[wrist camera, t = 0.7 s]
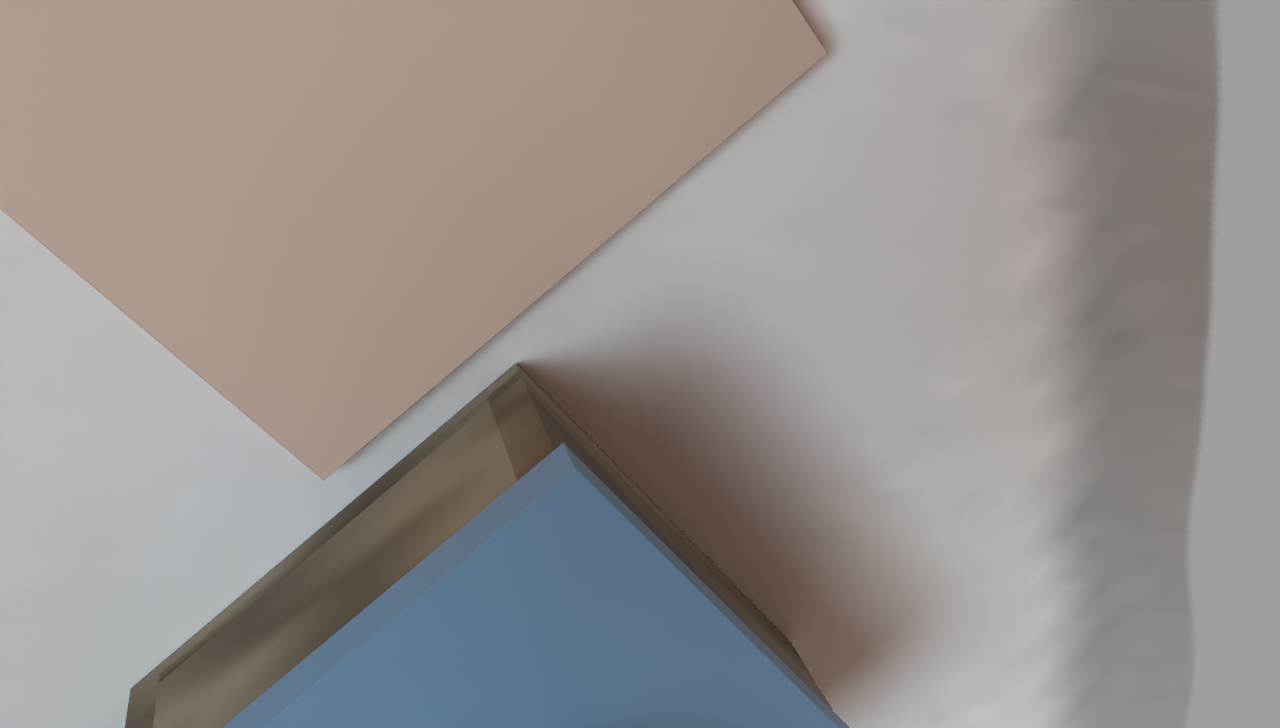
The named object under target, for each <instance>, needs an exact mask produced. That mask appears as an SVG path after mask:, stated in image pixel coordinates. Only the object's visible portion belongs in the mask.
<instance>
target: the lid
mask: <svg viewBox="0 0 1280 728" xmlns="http://www.w3.org/2000/svg"><path fill="white" fill-rule="evenodd" d="M223 728H849V727H848V726H847V725H846V724H845V723H844V722H843V721H842V720H841V719H840V718H839V717H838V716H837V715H836V714H835V713H834V712H833V711H832V710H831V709H830V708H829V707H828V706H827V705H826V704H825V703H824V702H823V701H822V700H821V699H820V698H819V697H818V696H817V695H816V694H815V693H814V692H813V691H812V690H811V689H810V688H809V687H808V686H807V685H806V684H805V683H804V682H803V681H802V680H801V679H800V678H799V677H798V676H797V675H796V674H795V673H794V672H793V671H792V670H791V669H790V668H789V667H788V666H787V665H786V664H785V663H784V662H783V661H782V660H781V659H780V658H779V657H778V656H777V655H776V654H775V653H774V652H773V651H772V650H771V649H770V648H769V647H768V646H767V645H766V644H765V643H764V642H763V641H762V640H761V639H760V638H759V637H758V636H757V635H756V634H755V633H754V632H753V631H752V630H751V629H750V628H749V627H748V626H747V625H746V624H745V623H744V622H743V621H742V620H741V619H740V618H739V617H738V616H737V615H736V614H735V613H734V612H733V611H732V610H731V609H730V608H729V607H728V606H727V605H726V604H725V603H724V602H723V601H722V600H721V599H720V598H719V597H718V596H717V595H716V594H715V593H714V592H713V591H712V590H711V589H710V588H709V587H708V586H707V585H706V584H705V583H704V582H703V581H702V580H701V579H700V578H698V577H697V576H696V575H695V574H694V573H693V572H692V571H691V570H690V569H689V568H688V567H687V566H686V565H685V564H684V563H683V562H682V561H681V560H680V559H679V558H678V557H677V556H676V555H675V554H674V553H673V552H672V551H671V550H670V549H669V548H668V547H667V546H666V545H665V544H664V543H663V542H662V541H661V540H660V539H659V538H658V537H657V536H656V535H655V534H654V533H653V532H652V531H651V530H650V529H649V528H648V527H647V526H646V525H645V524H644V523H643V522H642V521H641V520H640V519H639V518H638V517H637V516H636V515H635V514H634V513H633V512H632V511H631V510H630V509H629V508H628V507H627V506H626V505H625V504H624V503H623V502H622V501H621V500H620V499H619V498H618V497H617V496H616V495H615V494H614V493H613V492H612V491H611V490H610V489H609V488H608V487H607V486H606V485H605V484H604V483H603V482H602V481H601V480H600V479H599V478H598V477H597V476H596V475H595V474H594V473H593V472H592V471H591V470H590V469H589V468H588V467H587V466H586V465H585V464H584V463H583V462H582V461H581V460H580V459H579V458H578V457H577V456H576V455H575V454H574V453H573V452H572V451H571V450H570V449H569V448H568V447H567V446H566V445H565V444H564V443H562V444H561V445H560V446H559V447H557V448H556V449H555V450H554V451H553V452H551V453H550V454H549V455H548V456H547V457H545V458H544V459H543V460H542V461H541V462H539V463H538V464H537V465H536V466H535V467H534V468H532V469H531V470H530V471H529V472H528V473H526V474H525V475H524V476H523V477H522V478H520V479H519V480H518V481H517V482H516V483H514V484H513V485H512V486H511V487H510V488H508V489H507V490H506V491H505V492H504V493H502V494H501V495H500V496H499V497H498V498H496V499H495V500H494V501H493V502H492V503H490V504H489V505H488V506H487V507H486V508H484V509H483V510H482V511H481V512H480V513H479V514H477V515H476V516H475V517H474V518H473V519H471V520H470V521H469V522H468V523H467V524H465V525H464V526H463V527H462V528H461V529H459V530H458V531H457V532H456V533H455V534H453V535H452V536H451V537H450V538H449V539H447V540H446V541H445V542H444V543H443V544H441V545H440V546H439V547H438V548H437V549H435V550H434V551H433V552H432V553H431V554H429V555H428V556H427V557H426V558H425V559H423V560H422V561H421V562H420V563H419V564H418V565H416V566H415V567H414V568H413V569H412V570H410V571H409V572H408V573H407V574H406V575H404V576H403V577H402V578H401V579H400V580H398V581H397V582H396V583H395V584H394V585H392V586H391V587H390V588H389V589H388V590H386V591H385V592H384V593H383V594H382V595H380V596H379V597H378V598H377V599H376V600H374V601H373V602H372V603H371V604H370V605H368V606H367V607H366V608H365V609H364V610H363V611H361V612H360V613H359V614H358V615H357V616H355V617H354V618H353V619H352V620H351V621H349V622H348V623H347V624H346V625H345V626H343V627H342V628H341V629H340V630H339V631H337V632H336V633H335V634H334V635H333V636H331V637H330V638H329V639H328V640H327V641H325V642H324V643H323V644H322V645H321V646H319V647H318V648H317V649H316V650H315V651H313V652H312V653H311V654H310V655H309V656H307V657H306V658H305V659H304V660H303V661H302V662H300V663H299V664H298V665H297V666H296V667H294V668H293V669H292V670H291V671H290V672H288V673H287V674H286V675H285V676H284V677H282V678H281V679H280V680H279V681H278V682H276V683H275V684H274V685H273V686H272V687H270V688H269V689H268V690H267V691H266V692H264V693H263V694H262V695H261V696H260V697H258V698H257V699H256V700H255V701H254V702H252V703H251V704H250V705H249V706H248V707H247V708H245V709H244V710H243V711H242V712H241V713H239V714H238V715H237V716H236V717H235V718H233V719H232V720H231V721H230V722H229V723H227V724H226V725H225V726H224V727H223Z"/></svg>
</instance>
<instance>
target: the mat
mask: <svg viewBox="0 0 1280 728" xmlns="http://www.w3.org/2000/svg"><path fill="white" fill-rule="evenodd" d="M826 54H827V52H826V50H825V49H824V47H823V46H822V44H821V43H820V41H819V40H818V38H817V37H816V35H815V34H814V32H813V31H812V29H811V28H810V26H809V25H808V23H807V22H806V20H805V19H804V17H803V16H802V14H801V13H800V11H799V10H798V8H797V7H796V5H795V4H794V2H793V1H792V0H0V209H1V210H2V211H3V212H4V213H5V214H7V215H8V216H9V217H10V218H11V219H13V220H14V221H15V222H16V223H17V224H19V225H20V226H21V227H22V228H23V229H25V230H26V231H27V232H28V233H29V234H30V235H32V236H33V237H34V238H35V239H36V240H38V241H39V242H40V243H41V244H42V245H44V246H45V247H46V248H47V249H48V250H50V251H51V252H52V253H53V254H54V255H55V256H57V257H58V258H59V259H60V260H61V261H63V262H64V263H65V264H66V265H67V266H69V267H70V268H71V269H72V270H73V271H75V272H76V273H77V274H78V275H79V276H81V277H82V278H83V279H84V280H85V281H86V282H88V283H89V284H90V285H91V286H92V287H94V288H95V289H96V290H97V291H98V292H100V293H101V294H102V295H103V296H104V297H106V298H107V299H108V300H109V301H110V302H111V303H113V304H114V305H115V306H116V307H117V308H119V309H120V310H121V311H122V312H123V313H125V314H126V315H127V316H128V317H129V318H131V319H132V320H133V321H134V322H135V323H136V324H138V325H139V326H140V327H141V328H142V329H144V330H145V331H146V332H147V333H148V334H150V335H151V336H152V337H153V338H154V339H156V340H157V341H158V342H159V343H160V344H162V345H163V346H164V347H165V348H166V349H167V350H169V351H170V352H171V353H172V354H173V355H175V356H176V357H177V358H178V359H179V360H181V361H182V362H183V363H184V364H185V365H187V366H188V367H189V368H190V369H191V370H192V371H194V372H195V373H196V374H197V375H198V376H200V377H201V378H202V379H203V380H204V381H206V382H207V383H208V384H209V385H210V386H212V387H213V388H214V389H215V390H216V391H217V392H219V393H220V394H221V395H222V396H223V397H225V398H226V399H227V400H228V401H229V402H231V403H232V404H233V405H234V406H235V407H237V408H238V409H239V410H240V411H241V412H243V413H244V414H245V415H246V416H247V417H248V418H250V419H251V420H252V421H253V422H254V423H256V424H257V425H258V426H259V427H260V428H262V429H263V430H264V431H265V432H266V433H268V434H269V435H270V436H271V437H272V438H273V439H275V440H276V441H277V442H278V443H279V444H281V445H282V446H283V447H284V448H285V449H287V450H288V451H289V452H290V453H291V454H293V455H294V456H295V457H296V458H297V459H298V460H300V461H301V462H302V463H303V464H304V465H306V466H307V467H308V468H309V469H310V470H312V471H313V472H314V473H315V474H316V475H318V476H319V477H320V478H321V479H322V480H325V479H326V478H327V477H328V476H329V475H331V474H332V473H333V472H334V471H335V470H337V469H338V468H339V467H340V466H341V465H342V464H344V463H345V462H346V461H347V460H348V459H350V458H351V457H352V456H353V455H354V454H355V453H357V452H358V451H359V450H360V449H361V448H362V447H364V446H365V445H366V444H367V443H368V442H370V441H371V440H372V439H373V438H374V437H375V436H377V435H378V434H379V433H380V432H381V431H383V430H384V429H385V428H386V427H387V426H388V425H390V424H391V423H392V422H393V421H394V420H395V419H397V418H398V417H399V416H400V415H401V414H403V413H404V412H405V411H406V410H407V409H408V408H410V407H411V406H412V405H413V404H414V403H416V402H417V401H418V400H419V399H420V398H421V397H423V396H424V395H425V394H426V393H427V392H428V391H430V390H431V389H432V388H433V387H434V386H436V385H437V384H438V383H439V382H440V381H441V380H443V379H444V378H445V377H446V376H447V375H448V374H450V373H451V372H452V371H453V370H454V369H456V368H457V367H458V366H459V365H460V364H461V363H463V362H464V361H465V360H466V359H467V358H469V357H470V356H471V355H472V354H473V353H474V352H476V351H477V350H478V349H479V348H480V347H481V346H483V345H484V344H485V343H486V342H487V341H489V340H490V339H491V338H492V337H493V336H494V335H496V334H497V333H498V332H499V331H500V330H502V329H503V328H504V327H505V326H506V325H507V324H509V323H510V322H511V321H512V320H513V319H514V318H516V317H517V316H518V315H519V314H520V313H522V312H523V311H524V310H525V309H526V308H527V307H529V306H530V305H531V304H532V303H533V302H534V301H536V300H537V299H538V298H539V297H540V296H542V295H543V294H544V293H545V292H546V291H547V290H549V289H550V288H551V287H552V286H553V285H555V284H556V283H557V282H558V281H559V280H560V279H562V278H563V277H564V276H565V275H566V274H567V273H569V272H570V271H571V270H572V269H573V268H575V267H576V266H577V265H578V264H579V263H580V262H582V261H583V260H584V259H585V258H586V257H588V256H589V255H590V254H591V253H592V252H593V251H595V250H596V249H597V248H598V247H599V246H600V245H602V244H603V243H604V242H605V241H606V240H608V239H609V238H610V237H611V236H612V235H613V234H615V233H616V232H617V231H618V230H619V229H621V228H622V227H623V226H624V225H625V224H626V223H628V222H629V221H630V220H631V219H632V218H633V217H635V216H636V215H637V214H638V213H639V212H641V211H642V210H643V209H644V208H645V207H646V206H648V205H649V204H650V203H651V202H652V201H653V200H655V199H656V198H657V197H658V196H659V195H661V194H662V193H663V192H664V191H665V190H666V189H668V188H669V187H670V186H671V185H672V184H674V183H675V182H676V181H677V180H678V179H679V178H681V177H682V176H683V175H684V174H685V173H686V172H688V171H689V170H690V169H691V168H692V167H694V166H695V165H696V164H697V163H698V162H699V161H701V160H702V159H703V158H704V157H705V156H707V155H708V154H709V153H710V152H711V151H712V150H714V149H715V148H716V147H717V146H718V145H719V144H721V143H722V142H723V141H724V140H725V139H727V138H728V137H729V136H730V135H731V134H732V133H734V132H735V131H736V130H737V129H738V128H740V127H741V126H742V125H743V124H744V123H745V122H747V121H748V120H749V119H750V118H751V117H752V116H754V115H755V114H756V113H757V112H758V111H760V110H761V109H762V108H763V107H764V106H765V105H767V104H768V103H769V102H770V101H771V100H772V99H774V98H775V97H776V96H777V95H778V94H780V93H781V92H782V91H783V90H784V89H785V88H787V87H788V86H789V85H790V84H791V83H793V82H794V81H795V80H796V79H797V78H798V77H800V76H801V75H802V74H803V73H804V72H805V71H807V70H808V69H809V68H810V67H811V66H813V65H814V64H815V63H816V62H817V61H818V60H820V59H821V58H822V57H823V56H824V55H826Z"/></svg>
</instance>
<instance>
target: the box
mask: <svg viewBox="0 0 1280 728" xmlns="http://www.w3.org/2000/svg"><path fill="white" fill-rule="evenodd" d="M562 443H564V444H565V445H566V446H567V447H568V448H569V449H570V450H571V451H572V452H573V453H574V454H575V455H576V456H577V457H578V458H579V459H580V460H581V461H582V462H583V463H584V464H585V465H586V466H587V467H588V468H589V469H590V470H591V471H592V472H593V473H594V474H595V475H596V476H597V477H598V478H599V479H600V480H601V481H602V482H603V483H604V484H605V485H606V486H607V487H608V488H609V489H610V490H611V491H612V492H613V493H614V494H615V495H616V496H617V497H618V498H619V499H620V500H621V501H622V502H623V503H624V504H625V505H626V506H627V507H628V508H629V509H630V510H631V511H632V512H633V513H634V514H635V515H636V516H637V517H638V518H639V519H640V520H641V521H642V522H643V523H644V524H645V525H646V526H647V527H648V528H649V529H650V530H651V531H652V532H653V533H654V534H655V535H656V536H657V537H658V538H659V539H660V540H661V541H662V542H663V543H664V544H665V545H666V546H667V547H668V548H669V549H670V550H671V551H672V552H673V553H674V554H675V555H676V556H677V557H678V558H679V559H680V560H681V561H682V562H683V563H684V564H685V565H686V566H687V567H688V568H689V569H690V570H691V571H692V572H693V573H694V574H695V575H696V576H697V577H698V578H700V579H701V580H702V581H703V582H704V583H705V584H706V585H707V586H708V587H709V588H710V589H711V590H712V591H713V592H714V593H715V594H716V595H717V596H718V597H719V598H720V599H721V600H722V601H723V602H724V603H725V604H726V605H727V606H728V607H729V608H730V609H731V610H732V611H733V612H734V613H735V614H736V615H737V616H738V617H739V618H740V619H741V620H742V621H743V622H744V623H745V624H746V625H747V626H748V627H749V628H750V629H751V630H752V631H753V632H754V633H755V634H756V635H757V636H758V637H759V638H760V639H761V640H762V641H763V642H764V643H765V644H766V645H767V646H768V647H769V648H770V649H771V650H772V651H773V652H774V653H775V654H776V655H777V656H778V657H779V658H780V659H781V660H782V661H783V662H784V663H785V664H786V665H787V666H788V667H789V668H790V669H791V670H792V671H793V672H794V673H795V674H796V675H797V676H798V677H799V678H800V679H801V680H802V681H803V682H804V683H805V684H806V685H807V686H808V687H809V688H810V689H811V690H812V691H813V692H814V693H815V694H816V695H817V696H818V697H819V698H820V699H821V700H822V701H823V702H824V703H825V704H826V705H827V706H828V707H829V708H830V709H831V707H830V706H829V704H828V702H827V701H826V699H825V697H824V696H823V694H822V693H821V691H820V689H819V688H818V686H817V684H816V683H815V681H814V679H813V678H812V676H811V675H810V673H809V671H808V670H807V668H806V666H805V665H804V663H803V662H802V660H801V658H800V657H799V655H798V653H797V652H796V650H795V648H794V647H793V645H792V644H791V642H790V641H789V640H788V639H787V638H786V637H785V636H784V635H783V634H782V633H781V632H780V631H779V630H778V629H777V628H776V627H775V626H774V625H773V624H772V623H771V622H770V621H769V620H768V619H767V618H766V617H765V616H764V615H763V614H762V613H761V612H760V611H759V610H758V609H757V608H756V607H755V606H754V605H753V604H752V603H751V602H750V601H749V600H748V599H747V598H746V597H745V596H744V594H743V593H742V592H741V591H740V590H739V589H738V588H737V587H736V586H735V585H734V584H733V583H732V582H731V581H730V580H729V579H728V578H727V577H726V576H725V575H724V574H723V573H722V572H721V571H720V570H719V569H718V568H717V567H716V566H715V565H714V564H713V563H712V562H711V561H710V560H709V559H708V558H707V557H706V556H705V555H704V554H703V553H702V552H701V551H700V550H699V549H698V548H697V547H696V546H695V545H694V544H693V543H692V542H691V541H690V540H689V539H688V538H687V537H686V536H685V535H684V534H683V532H682V531H681V530H680V529H679V528H678V527H677V526H676V525H675V524H674V523H673V522H672V521H671V520H670V519H669V518H668V517H667V516H666V515H665V514H664V513H663V512H662V511H661V510H660V509H659V508H658V507H657V506H656V505H655V504H654V503H653V502H652V501H651V500H650V499H649V498H648V497H647V496H646V495H645V494H644V493H643V492H642V491H641V490H640V489H639V488H638V487H637V486H636V485H635V484H634V483H633V482H632V481H631V480H630V479H629V478H628V477H627V476H626V475H625V474H624V473H623V472H622V471H621V469H620V468H619V467H618V466H617V465H616V464H615V463H614V462H613V461H612V460H611V459H610V458H609V457H608V456H607V455H606V454H605V453H604V452H603V451H602V450H601V449H600V448H599V447H598V446H597V445H596V444H595V443H594V442H593V441H592V440H591V439H590V438H589V437H588V436H587V435H586V434H585V433H584V432H583V431H582V430H581V429H580V428H579V427H578V426H577V425H576V424H575V423H574V422H573V421H572V420H571V419H570V418H569V417H568V416H567V415H566V414H565V413H564V412H563V411H562V410H561V409H560V407H559V406H558V405H557V404H556V403H555V402H554V401H553V400H552V399H551V398H550V397H549V396H548V395H547V394H546V393H545V392H544V391H543V390H542V389H541V388H540V387H539V386H538V385H537V384H536V383H535V382H534V381H533V380H532V379H531V378H530V377H529V376H528V375H527V374H526V373H525V372H524V371H523V370H522V369H521V368H520V367H519V366H518V365H517V364H515V365H514V366H512V367H511V368H510V369H509V370H508V371H506V372H505V373H504V374H503V375H502V376H501V377H499V378H498V379H497V380H496V381H495V382H493V383H492V384H491V385H490V386H489V387H488V388H486V389H485V390H484V391H483V392H482V393H480V394H479V395H478V396H477V397H476V398H475V399H473V400H472V401H471V402H470V403H469V404H467V405H466V406H465V407H464V408H463V409H462V410H460V411H459V412H458V413H457V414H456V415H454V416H453V417H452V418H451V419H450V420H449V421H447V422H446V423H445V424H444V425H443V426H441V427H440V428H439V429H438V430H437V431H436V432H434V433H433V434H432V435H431V436H430V437H428V438H427V439H426V440H425V441H424V442H422V443H421V444H420V445H419V446H418V447H417V448H415V449H414V450H413V451H412V452H411V453H409V454H408V455H407V456H406V457H405V458H404V459H402V460H401V461H400V462H399V463H398V464H396V465H395V466H394V467H393V468H392V469H391V470H389V471H388V472H387V473H386V474H385V475H383V476H382V477H381V478H380V479H379V480H378V481H376V482H375V483H374V484H373V485H372V486H370V487H369V488H368V489H367V490H366V491H365V492H363V493H362V494H361V495H360V496H359V497H357V498H356V499H355V500H354V501H353V502H352V503H350V504H349V505H348V506H347V507H346V508H344V509H343V510H342V511H341V512H340V513H338V514H337V515H336V516H335V517H334V518H333V519H331V520H330V521H329V522H328V523H327V524H325V525H324V526H323V527H322V528H321V529H320V530H318V531H317V532H316V533H315V534H314V535H312V536H311V537H310V538H309V539H308V540H307V541H305V542H304V543H303V544H302V545H301V546H299V547H298V548H297V549H296V550H295V551H294V552H292V553H291V554H290V555H289V556H288V557H286V558H285V559H284V560H283V561H282V562H281V563H279V564H278V565H277V566H276V567H275V568H273V569H272V570H271V571H270V572H269V573H268V574H266V575H265V576H264V577H263V578H262V579H260V580H259V581H258V582H257V583H256V584H254V585H253V586H252V587H251V588H250V589H249V590H247V591H246V592H245V593H244V594H243V595H241V596H240V597H239V598H238V599H237V600H236V601H234V602H233V603H232V604H231V605H230V606H228V607H227V608H226V609H225V610H224V611H223V612H221V613H220V614H219V615H218V616H217V617H215V618H214V619H213V620H212V621H211V622H210V623H208V624H207V625H206V626H205V627H204V628H202V629H201V630H200V631H199V632H198V633H197V634H195V635H194V636H193V637H192V638H191V639H189V640H188V641H187V642H186V643H185V644H184V645H182V646H181V647H180V648H179V649H178V650H176V651H175V652H174V653H173V654H172V655H170V656H169V657H168V658H167V659H166V660H165V661H163V662H162V663H161V664H160V665H159V666H157V667H156V668H155V669H154V670H153V671H152V672H150V673H149V674H148V675H147V676H146V677H144V678H143V679H142V680H141V681H140V682H139V683H137V684H136V685H135V686H134V687H133V688H131V690H130V697H129V704H128V711H127V718H126V724H125V728H223V727H224V726H225V725H226V724H227V723H229V722H230V721H231V720H232V719H233V718H235V717H236V716H237V715H238V714H239V713H241V712H242V711H243V710H244V709H245V708H247V707H248V706H249V705H250V704H251V703H252V702H254V701H255V700H256V699H257V698H258V697H260V696H261V695H262V694H263V693H264V692H266V691H267V690H268V689H269V688H270V687H272V686H273V685H274V684H275V683H276V682H278V681H279V680H280V679H281V678H282V677H284V676H285V675H286V674H287V673H288V672H290V671H291V670H292V669H293V668H294V667H296V666H297V665H298V664H299V663H300V662H302V661H303V660H304V659H305V658H306V657H307V656H309V655H310V654H311V653H312V652H313V651H315V650H316V649H317V648H318V647H319V646H321V645H322V644H323V643H324V642H325V641H327V640H328V639H329V638H330V637H331V636H333V635H334V634H335V633H336V632H337V631H339V630H340V629H341V628H342V627H343V626H345V625H346V624H347V623H348V622H349V621H351V620H352V619H353V618H354V617H355V616H357V615H358V614H359V613H360V612H361V611H363V610H364V609H365V608H366V607H367V606H368V605H370V604H371V603H372V602H373V601H374V600H376V599H377V598H378V597H379V596H380V595H382V594H383V593H384V592H385V591H386V590H388V589H389V588H390V587H391V586H392V585H394V584H395V583H396V582H397V581H398V580H400V579H401V578H402V577H403V576H404V575H406V574H407V573H408V572H409V571H410V570H412V569H413V568H414V567H415V566H416V565H418V564H419V563H420V562H421V561H422V560H423V559H425V558H426V557H427V556H428V555H429V554H431V553H432V552H433V551H434V550H435V549H437V548H438V547H439V546H440V545H441V544H443V543H444V542H445V541H446V540H447V539H449V538H450V537H451V536H452V535H453V534H455V533H456V532H457V531H458V530H459V529H461V528H462V527H463V526H464V525H465V524H467V523H468V522H469V521H470V520H471V519H473V518H474V517H475V516H476V515H477V514H479V513H480V512H481V511H482V510H483V509H484V508H486V507H487V506H488V505H489V504H490V503H492V502H493V501H494V500H495V499H496V498H498V497H499V496H500V495H501V494H502V493H504V492H505V491H506V490H507V489H508V488H510V487H511V486H512V485H513V484H514V483H516V482H517V481H518V480H519V479H520V478H522V477H523V476H524V475H525V474H526V473H528V472H529V471H530V470H531V469H532V468H534V467H535V466H536V465H537V464H538V463H539V462H541V461H542V460H543V459H544V458H545V457H547V456H548V455H549V454H550V453H551V452H553V451H554V450H555V449H556V448H557V447H559V446H560V445H561V444H562ZM831 710H832V709H831Z"/></svg>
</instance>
